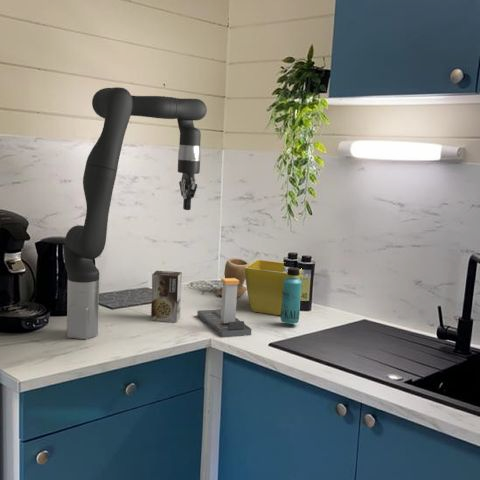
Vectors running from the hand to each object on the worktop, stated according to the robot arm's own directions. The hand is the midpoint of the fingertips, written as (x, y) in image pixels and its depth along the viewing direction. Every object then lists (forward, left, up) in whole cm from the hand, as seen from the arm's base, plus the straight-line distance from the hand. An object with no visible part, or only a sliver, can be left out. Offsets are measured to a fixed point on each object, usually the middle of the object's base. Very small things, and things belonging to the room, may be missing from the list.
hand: (186, 209), depth 207 cm
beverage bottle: (-2, -38, -37) cm, 53 cm away
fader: (-13, -18, -35) cm, 41 cm away
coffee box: (-8, +4, -37) cm, 38 cm away
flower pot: (+16, -31, -37) cm, 51 cm away
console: (-9, -16, -37) cm, 41 cm away
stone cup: (+34, -14, -37) cm, 52 cm away
